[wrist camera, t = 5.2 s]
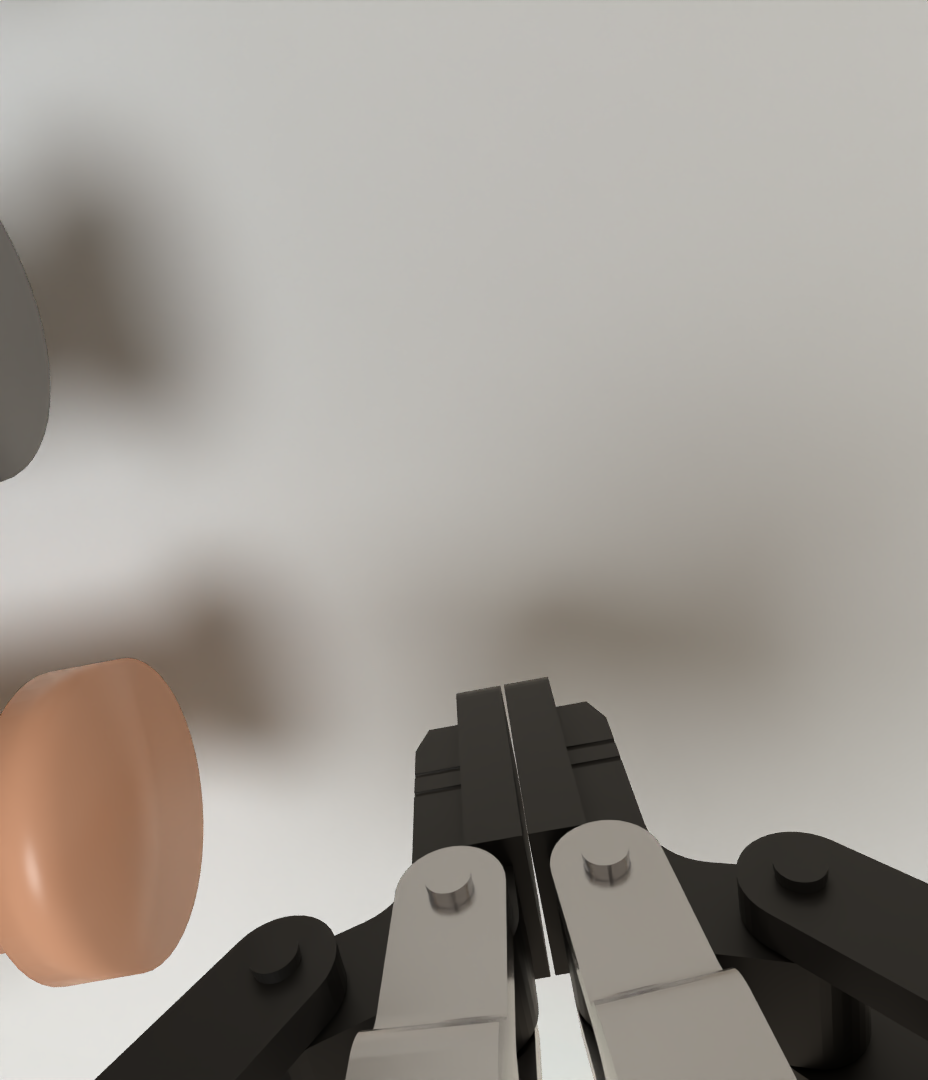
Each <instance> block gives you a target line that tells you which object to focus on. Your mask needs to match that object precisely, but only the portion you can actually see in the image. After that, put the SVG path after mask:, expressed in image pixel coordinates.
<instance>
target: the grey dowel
mask: <svg viewBox="0 0 928 1080" xmlns="http://www.w3.org/2000/svg"><path fill="white" fill-rule="evenodd" d="M49 407H50V369H49V360H48V353H47V346H46V341H45V336H44V331H43V327H42V323H41V319H40V315H39V312H38V308H37V305H36V302H35V298H34V295H33V292H32V289H31V286H30V284H29V281H28V279H27V276H26V273H25V271H24V268H23V266H22V263H21V261H20V259H19V257H18V255H17V252H16V250H15V248H14V246H13V244H12V242H11V240H10V238H9V236H8V234H7V232H6V230H5V228H4V226H3V224H2V222H1V221H0V482H2V481H4V480H7V479H9V478H12V477H14V476H15V475H17V474H18V473H19V472H21V471H22V470H23V469H25V467H26V466H27V465H28V464H29V463H30V462H31V461H32V459H33V458H34V456H35V454H36V453H37V451H38V449H39V447H40V445H41V442H42V440H43V437H44V434H45V430H46V426H47V422H48V416H49Z"/></svg>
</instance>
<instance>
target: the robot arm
mask: <svg viewBox="0 0 928 1080" xmlns="http://www.w3.org/2000/svg"><path fill="white" fill-rule="evenodd" d="M504 688H505V695H506V701H507V707H508V713H509V719H510V726H511V732H512V738H513V744H514V751H515V757H516V763H517V768H516V763H515V758H514V753H513V748H512V743H511V737H510V732H509V727H508V722H507V717H506V712H505V707H504V702H503V696H502V692H501V687H500V686H496V687H490V688H485V689H479V690H474V691H468V692H463V693H457V694H456V699H457V718H458V725H455V726H449V727H444V728H438V729H433V730H429V731H428V733H427V735H426V736H425V738H424V739H423V741H422V743H421V744H420V746H419V747H418V749H417V751H416V760H415V777H416V778H415V791H414V793H415V797H414V822H413V853H412V865H411V866H410V867H409V868H408V869H407V870H406V871H405V873H404V874H403V875H402V877H401V878H400V880H399V882H398V885H397V888H396V892H395V897H394V902H393V903H392V904H391V905H390V906H389V907H388V908H387V909H385V910H384V911H383V912H381V913H380V914H378V915H377V916H375V917H374V918H372V919H370V920H368V921H366V922H364V923H362V924H360V925H357V926H355V927H353V928H351V929H349V930H346V931H344V932H342V933H340V934H338V935H335V936H334V934H333V932H332V930H331V929H330V928H329V927H328V926H327V925H326V924H325V923H324V922H322V921H321V920H319V919H316V918H313V917H309V916H288V917H283V918H279V919H276V920H273V921H271V922H268V923H266V924H264V925H262V926H260V927H258V928H256V929H255V930H253V931H252V932H250V933H249V934H248V935H246V936H245V937H244V938H243V939H242V940H241V941H239V942H238V943H237V944H236V945H235V946H234V947H233V948H232V949H231V950H230V951H229V952H228V953H227V954H226V955H225V956H224V957H223V958H222V959H221V960H219V961H218V962H217V963H216V964H215V965H214V966H213V967H212V968H211V969H210V970H209V971H208V972H207V973H206V974H205V975H204V976H203V977H202V978H201V979H200V980H199V981H197V982H196V983H195V984H194V985H193V986H192V987H191V988H190V989H189V990H188V991H187V992H186V993H185V994H184V995H183V996H182V997H181V998H180V999H179V1000H178V1001H177V1002H175V1003H174V1004H173V1005H172V1006H171V1007H170V1008H169V1009H168V1010H167V1011H166V1012H165V1013H164V1014H163V1015H162V1016H161V1017H160V1018H159V1019H158V1020H157V1021H156V1022H155V1023H154V1024H152V1025H151V1026H150V1027H149V1028H148V1029H147V1030H146V1031H145V1032H144V1033H143V1034H142V1035H141V1036H140V1037H139V1038H138V1039H137V1040H136V1041H135V1042H134V1043H133V1044H132V1045H130V1046H129V1047H128V1048H127V1049H126V1050H125V1051H124V1052H123V1053H122V1054H121V1055H120V1056H119V1057H118V1058H117V1059H116V1060H115V1061H114V1062H113V1063H112V1064H111V1065H110V1066H108V1067H107V1068H106V1069H105V1070H104V1071H103V1072H102V1073H101V1074H100V1075H99V1076H98V1077H97V1078H96V1079H95V1080H542V1069H541V1050H540V1037H539V1031H538V1026H537V1021H538V1014H539V1011H538V1000H537V993H536V985H535V979H539V978H545V977H551V976H550V970H549V963H548V957H547V951H546V945H545V939H544V932H543V926H542V920H541V914H540V907H539V901H538V895H537V889H536V882H535V876H534V870H533V864H532V857H533V863H534V868H535V873H536V878H537V883H538V888H539V893H540V898H541V903H542V908H543V914H544V919H545V924H546V929H547V934H548V939H549V944H550V949H551V954H552V960H553V965H554V970H555V975H560V974H566V973H570V976H571V981H572V987H573V992H574V997H575V1001H576V1007H577V1012H578V1018H579V1023H580V1028H581V1034H582V1037H583V1041H584V1045H585V1048H586V1052H587V1056H588V1059H589V1063H590V1067H591V1070H592V1074H593V1078H594V1080H928V883H925V882H923V881H921V880H919V879H916V878H914V877H912V876H910V875H908V874H905V873H903V872H901V871H899V870H896V869H894V868H892V867H890V866H887V865H885V864H883V863H881V862H879V861H876V860H874V859H872V858H870V857H867V856H865V855H863V854H861V853H858V852H856V851H854V850H852V849H850V848H847V847H845V846H843V845H841V844H838V843H836V842H834V841H832V840H829V839H827V838H824V837H821V836H817V835H814V834H809V833H802V832H781V833H775V834H770V835H767V836H764V837H761V838H759V839H757V840H755V841H754V842H752V843H751V844H750V845H748V846H747V847H746V848H745V849H744V850H743V852H742V853H741V855H740V857H739V859H738V861H737V864H725V863H712V862H703V861H697V860H692V859H688V858H685V857H682V856H680V855H677V854H675V853H673V852H671V851H669V850H667V849H666V848H664V847H663V846H661V845H660V844H659V842H658V840H657V839H656V838H655V837H654V836H653V835H652V834H651V833H649V832H648V830H647V828H646V826H645V824H644V821H643V818H642V815H641V813H640V810H639V807H638V804H637V802H636V799H635V796H634V793H633V791H632V788H631V785H630V782H629V780H628V777H627V774H626V771H625V769H624V766H623V763H622V760H621V759H620V755H619V752H618V749H617V747H616V744H615V743H614V738H613V736H612V733H611V730H610V727H609V725H608V722H607V719H606V717H605V716H604V715H602V714H601V713H600V712H599V711H597V710H596V709H595V708H594V707H592V706H591V705H590V704H589V703H587V702H581V703H576V704H570V705H565V706H559V707H556V706H555V702H554V699H553V695H552V691H551V687H550V683H549V680H548V677H544V678H539V679H533V680H528V681H522V682H517V683H511V684H506V685H504ZM517 769H518V774H517ZM518 775H519V779H518ZM519 782H520V784H519ZM520 788H521V790H520ZM521 794H522V796H521ZM522 800H523V801H522ZM523 806H524V808H523ZM524 813H525V814H524ZM525 819H526V820H525ZM526 825H527V826H526ZM527 831H528V832H527ZM528 837H529V839H528ZM529 842H530V845H529ZM530 847H531V851H530ZM531 852H532V857H531Z"/></svg>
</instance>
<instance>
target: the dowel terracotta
mask: <svg viewBox="0 0 928 1080" xmlns="http://www.w3.org/2000/svg"><path fill="white" fill-rule="evenodd" d="M202 850H203V803H202V792H201V783H200V776H199V769H198V764H197V759H196V754H195V750H194V746H193V742H192V738H191V735H190V732H189V729H188V726H187V723H186V720H185V718H184V715H183V713H182V710H181V708H180V706H179V704H178V702H177V700H176V698H175V696H174V694H173V693H172V691H171V689H170V688H169V686H168V685H167V683H166V682H165V681H164V680H163V678H162V677H161V676H160V675H159V674H158V673H157V672H156V671H155V670H154V669H153V668H152V667H150V666H149V665H147V664H146V663H144V662H142V661H140V660H137V659H132V658H123V659H116V660H111V661H105V662H100V663H94V664H89V665H84V666H78V667H73V668H67V669H62V670H57V671H51V672H47V673H44V674H41V675H39V676H36V677H35V678H33V679H32V680H30V681H28V682H27V683H26V684H25V685H24V686H23V687H21V688H20V689H19V690H18V691H17V692H16V693H15V695H14V696H13V697H12V698H11V700H10V701H9V702H8V704H7V705H6V707H5V708H4V710H3V712H2V714H1V715H0V954H3V953H6V954H7V956H8V957H9V958H10V959H11V961H12V962H13V963H14V964H15V965H16V967H17V968H18V969H19V970H20V971H22V972H23V973H24V974H25V975H26V976H28V977H29V978H30V979H32V980H34V981H36V982H38V983H40V984H42V985H46V986H51V987H66V986H72V985H78V984H83V983H89V982H95V981H101V980H107V979H112V978H118V977H124V976H130V975H135V974H141V973H145V972H148V971H151V970H153V969H155V968H156V967H158V966H160V965H161V964H162V963H163V962H164V961H165V960H166V959H167V958H168V957H169V956H170V955H171V953H172V952H173V951H174V949H175V948H176V946H177V945H178V943H179V941H180V939H181V937H182V935H183V933H184V931H185V929H186V926H187V924H188V921H189V919H190V915H191V912H192V909H193V906H194V902H195V898H196V893H197V889H198V883H199V877H200V871H201V862H202Z"/></svg>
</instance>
